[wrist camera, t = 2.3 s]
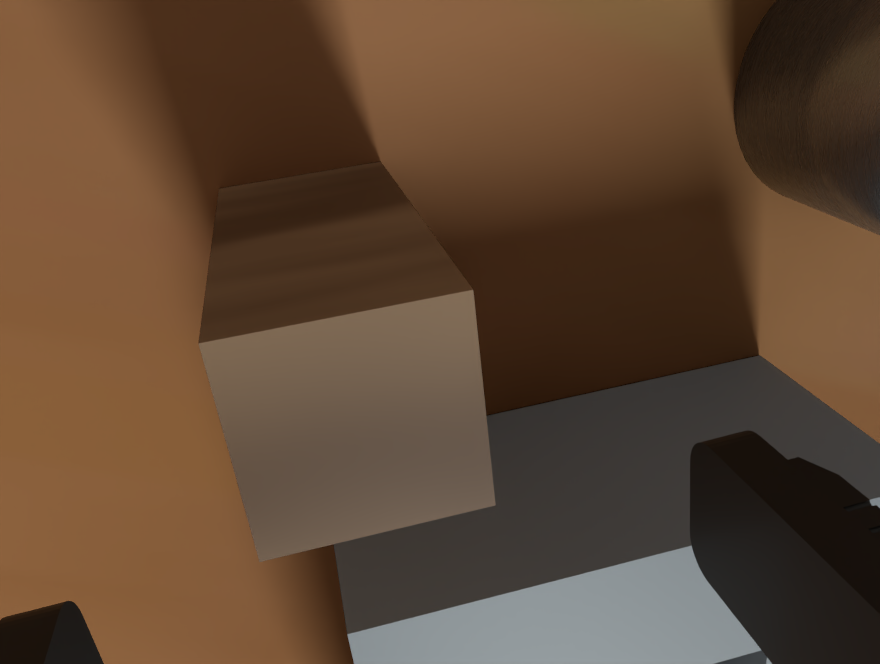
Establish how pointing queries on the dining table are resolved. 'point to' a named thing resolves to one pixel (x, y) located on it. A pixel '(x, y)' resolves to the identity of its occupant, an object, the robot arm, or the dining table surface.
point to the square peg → (342, 361)
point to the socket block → (588, 531)
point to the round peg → (815, 106)
